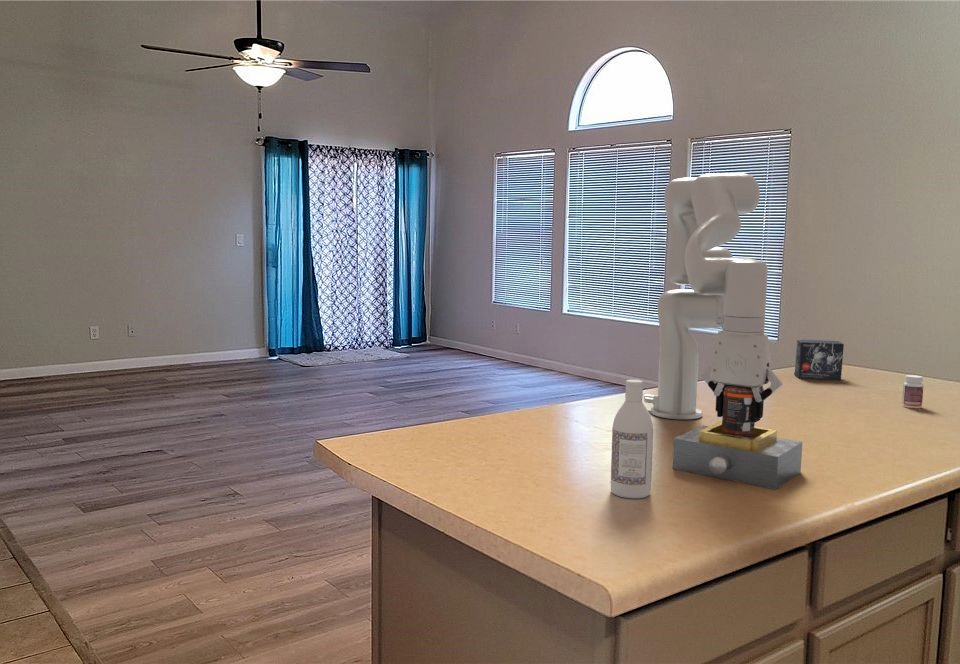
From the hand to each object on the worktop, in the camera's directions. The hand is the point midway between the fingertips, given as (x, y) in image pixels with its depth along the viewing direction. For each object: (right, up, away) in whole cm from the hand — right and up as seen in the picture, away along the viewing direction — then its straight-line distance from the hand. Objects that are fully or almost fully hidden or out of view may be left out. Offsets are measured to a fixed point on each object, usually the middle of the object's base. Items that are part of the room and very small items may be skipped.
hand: (738, 417), depth 155 cm
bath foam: (-23, -12, -14) cm, 30 cm away
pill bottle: (+67, -4, +63) cm, 92 cm away
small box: (+60, +1, +106) cm, 122 cm away
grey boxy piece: (-1, -10, 0) cm, 10 cm away
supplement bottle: (0, -3, 0) cm, 3 cm away
